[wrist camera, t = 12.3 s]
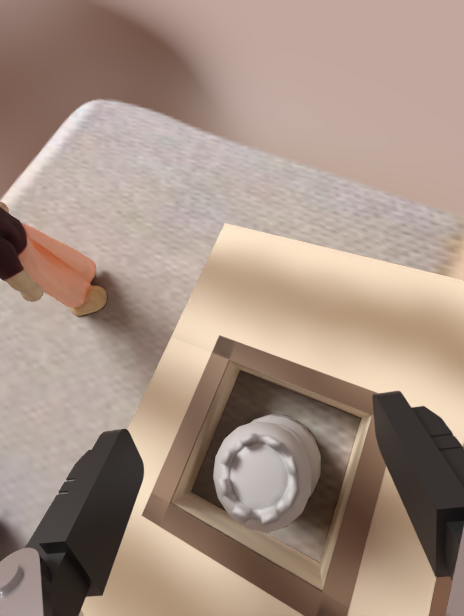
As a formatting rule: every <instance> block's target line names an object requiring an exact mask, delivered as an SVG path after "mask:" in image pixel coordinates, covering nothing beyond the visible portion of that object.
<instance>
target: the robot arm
mask: <svg viewBox="0 0 464 616" xmlns="http://www.w3.org/2000/svg"><path fill="white" fill-rule="evenodd" d="M372 399H373V412H374V424H375V434H376V439H377V443H378V447H379V450H380V452H381V455H382V457H383V459H384V462H385V464H386V466H387V468H388V471H389V473H390V475H391V478H392V480H393V482H394V484H395V487H396V489H397V491H398V493H399V496H400V498H401V500H402V502H403V505H404V507H405V509H406V511H407V514H408V516H409V518H410V520H411V523H412V525H413V527H414V530H415V532H416V534H417V536H418V539H419V541H420V543H421V545H422V548H423V550H424V552H425V554H426V557H427V559H428V561H429V563H430V566H431V568H432V570H433V572H434V575H435V577H445V576H450V577H451V579H452V586H451V591H450V595H449V600H448V605H447V610H446V614H445V616H464V449H463V447H462V445H461V444H460V442H459V441H458V440H457V438H456V437H455V436H453V433H452V432H451V430H450V429H449V427H448V426H447V425H446V423H445V422H444V421H443V419H442V418H441V417H439V416H438V415H437V414H435V413H434V412H432V411H431V410H429V409H428V408H426V407H425V406H419V407H412V408H411V406H410V405H409V403H408V402H407V400H406V399H405V397H404V395H403V394H402V393H401V392H400V391H392V392H385V393H378V394H373V397H372ZM143 478H144V464H143V460H142V458H141V456H140V454H139V452H138V450H137V447H136V445H135V443H134V441H133V439H132V437H131V435H130V433H129V431H128V430H127V429H121V430H114V431H107V432H103V433H102V434H101V435H100V436H99V438H98V440H97V442H96V443H95V445H94V447H93V449H92V450H88V451H87V452H86V453H85V454H84V456H83V457H82V458H81V459H80V460H79V461H78V462H77V463H76V464H75V465H74V467H73V469H72V470H71V472H70V474H69V475H68V477H67V479H66V480H67V481H66V482H64V484H63V485H62V487H61V489H60V490H59V495H57V496H56V497H55V499H54V501H53V502H52V504H51V506H50V507H49V509H48V511H47V512H46V514H45V516H44V517H43V519H42V521H41V522H40V524H39V526H38V527H37V529H36V531H35V532H34V534H33V536H32V537H31V539H30V541H29V542H28V544H27V546H26V547H25V548H23V549H20V550H18V551H15V552H13V553H12V554H10V555H9V556H7V557H6V558H4V559H3V560H2V561H1V562H0V616H84V614H83V612H82V610H81V608H82V606H83V603H84V600H85V598H86V597H91V596H103V593H104V590H105V587H106V584H107V581H108V579H109V576H110V573H111V570H112V567H113V564H114V561H115V559H116V556H117V553H118V550H119V547H120V544H121V542H122V539H123V536H124V533H125V530H126V527H127V524H128V522H129V519H130V516H131V513H132V510H133V507H134V504H135V502H136V499H137V496H138V493H139V490H140V487H141V485H142V482H143Z"/></svg>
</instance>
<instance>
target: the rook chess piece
mask: <svg viewBox="0 0 464 616" xmlns="http://www.w3.org/2000/svg"><path fill="white" fill-rule="evenodd" d="M320 475H321V455H320V452H319V449H318V447H317V444H316V441H315V438H314V437H313V436H312V435H311V433H310V432H309V431H308V430H307V429H306V427H305V426H304V425H303V424H302V423H300V422H298V421H296V420H294V419H292V418H291V417H289V416H286V415H276V414H269V415H266V416H263V417H260V418H257V419H254V420H253V421H252V422H251V423H249V424H246V425H242V426H239V427H237V428H236V429H235V430H234V431H233V432H232V433H231V434H230V435H228V436H227V437H226V438H225V439H224V441H223V443H222V445H221V447H220V449H219V451H218V453H217V455H216V457H215V465H214V474H213V479H214V483H215V487H216V492H217V496H218V499H219V501H220V502H221V504H222V505H223V507H224V508H225V510H226V511H227V513H228V514H229V516H230V517H231V518H233V519H234V520H236V521H237V522H238V523H240V524H241V525H243V526H244V527H246V528H247V529H251V530H257V531H262V532H271V531H274V530H278V529H281V528H284V527H287V526H288V525H290V524H291V523H292V522H293V521H294V520H295V519H296V518H297V517H298V516H299V515H300V514H301V513H302V512H303V510H304V508H305V505H306V503H307V501H308V498H309V497H310V496H311V495H312V494H313V492H314V490H315V487H316V485H317V482H318V480H319V478H320Z"/></svg>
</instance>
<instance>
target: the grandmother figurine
mask: <svg viewBox="0 0 464 616" xmlns="http://www.w3.org/2000/svg"><path fill="white" fill-rule="evenodd" d="M8 212H9V210H8V207H7V206H6V205H5V204H4V203H2V202H0V278H1V279H2V280H4V281H6V282H7V283H8V284H9V285H10V286H11V287H12V288H14V289H15V290H17V291H20V293H21V295H22V297H23V298H24V299H26V300H27V301H31V302H33V301H37V300H39V299H40V298H41V297H42V296H43V291H44V292H45V293H47V294H49V295H50V296H52V297H54V298H55V299H56V300H58V301H60V302H61V303H63V304H65V305H66V306H68V307H70V309H71V311H72V312H73V314H74V315H76V316H81V315H85V314H89V313H93V312H96V311H98V310H100V309H101V308H102V307H104V305H105V303H106V300H107V295H106V291H105V290H104V289H103V288H102V287H100V286H91V284H90V282H91V281H92V279H93V278H94V276H95V274H96V265H95V263H94V262H93V261H92V260H91V259H90V258H88V257H86V256H85V255H83V254H82V253H80V252H78V251H77V250H75V249H73V248H71V247H70V246H68V245H66V244H64V243H62V242H59V241H57V240H55V239H53V238H51V237H49V236H48V235H46V234H44V233H42V232H40V231H38V230H36V229H34V228H33V227H31V226H28V225H26V224H23V223H21V222H20V221H19V220H18V219H16V218H14V217H13V216H11V215H10V214H9V213H8Z"/></svg>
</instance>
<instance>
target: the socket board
mask: <svg viewBox="0 0 464 616" xmlns="http://www.w3.org/2000/svg"><path fill="white" fill-rule="evenodd" d="M240 370H242V371H244V372H247V373H249V374H252V375H254V376H257V377H259V378H262V379H264V380H267V381H269V382H272V383H275V384H277V385H280V386H282V387H285V388H287V389H290V390H292V391H295V392H297V393H300V394H302V395H305V396H308V397H310V398H313V399H315V400H318V401H320V402H323V403H325V404H328V405H330V406H333V407H335V408H338V409H340V410H343V411H346V412H348V413H351V414H353V415H356V416H358V417H361V421H360V425H359V428H358V432H357V435H356V439H355V442H354V446H353V449H352V453H351V456H350V460H349V463H348V466H347V470H346V473H345V477H344V480H343V484H342V487H341V491H340V494H339V498H338V501H337V505H336V508H335V511H334V515H333V518H332V522H331V525H330V529H329V532H328V536H327V539H326V543H325V546H324V550H323V553H322V556H321V560H320V563H318V562H316V561H314V560H313V559H311V558H309V557H307V556H305V555H304V554H302V553H300V552H298V551H296V550H295V549H293V548H291V547H289V546H287V545H286V544H284V543H282V542H280V541H278V540H277V539H275V538H273V537H271V536H269V535H268V534H266V533H264V532H262V531H257V530H251V529H247V528H246V527H244V526H243V525H241V524H240V523H238V522H237V521H236V520H234V519H233V518H231V517H230V516H229V514H228V513H227V512H226V511H224V510H223V509H221V508H219V507H217V506H215V505H214V504H212V503H210V502H208V501H206V500H204V499H203V498H201V497H199V496H197V495H195V494H194V493H192V492H191V491H192V488H193V486H194V483H195V481H196V478H197V476H198V473H199V471H200V468H201V466H202V463H203V461H204V458H205V456H206V453H207V451H208V448H209V446H210V443H211V441H212V438H213V436H214V434H215V431H216V429H217V426H218V424H219V421H220V419H221V416H222V414H223V411H224V409H225V406H226V404H227V401H228V399H229V396H230V394H231V391H232V389H233V386H234V384H235V381H236V379H237V376H238V374H239V371H240ZM392 391H400V392H401V393H402V394H403V395H404V397H405V399H406V400H407V402H408V403H409V405H410V406H411V408H412V407H419V406H425V407H426V408H428V409H429V410H431V411H432V412H434V413H435V414H437V415H438V416H439V417H441V418H442V419H443V421H444V422H445V423H446V425H447V426H448V427H449V429H450V430H451V432H452V433H453V436H455V437H456V438H457V440H458V441H459V442H460V444H461V445H462V447H463V444H464V280H459V279H455V278H451V277H447V276H443V275H439V274H434V273H430V272H426V271H422V270H418V269H414V268H409V267H405V266H401V265H397V264H393V263H389V262H385V261H380V260H376V259H372V258H368V257H364V256H360V255H355V254H351V253H347V252H343V251H339V250H335V249H330V248H326V247H322V246H318V245H314V244H310V243H305V242H301V241H297V240H293V239H289V238H285V237H280V236H276V235H272V234H268V233H264V232H260V231H255V230H251V229H247V228H243V227H239V226H235V225H230V224H226V223H225V224H224V226H223V228H222V230H221V233H220V235H219V237H218V239H217V241H216V243H215V245H214V247H213V250H212V252H211V254H210V256H209V258H208V260H207V262H206V264H205V266H204V269H203V271H202V273H201V275H200V277H199V279H198V281H197V283H196V286H195V288H194V290H193V292H192V294H191V296H190V298H189V300H188V302H187V305H186V307H185V309H184V311H183V313H182V315H181V317H180V319H179V322H178V324H177V326H176V328H175V330H174V332H173V334H172V336H171V338H170V341H169V343H168V345H167V347H166V349H165V351H164V353H163V355H162V358H161V360H160V362H159V364H158V366H157V368H156V370H155V372H154V374H153V377H152V379H151V381H150V383H149V385H148V387H147V389H146V391H145V394H144V396H143V398H142V400H141V402H140V404H139V406H138V408H137V410H136V413H135V415H134V417H133V419H132V421H131V423H130V425H129V427H128V431H129V433H130V435H131V437H132V439H133V441H134V443H135V445H136V447H137V450H138V452H139V454H140V456H141V458H142V460H143V464H144V478H143V482H142V485H141V487H140V490H139V493H138V496H137V499H136V502H135V504H134V507H133V510H132V513H131V516H130V519H129V522H128V524H127V527H126V530H125V533H124V536H123V539H122V542H121V544H120V547H119V550H118V553H117V556H116V559H115V561H114V564H113V567H112V570H111V573H110V576H109V579H108V581H107V584H106V587H105V590H104V593H103V596H91V597H86V598H85V600H84V603H83V606H82V608H81V610H82V612H83V614H84V616H429V611H430V606H431V601H432V596H433V591H434V586H435V582H436V577H435V575H434V572H433V570H432V568H431V566H430V563H429V561H428V559H427V557H426V554H425V552H424V550H423V548H422V545H421V543H420V541H419V539H418V536H417V534H416V532H415V530H414V527H413V525H412V523H411V520H410V518H409V516H408V514H407V511H406V509H405V507H404V505H403V502H402V500H401V498H400V496H399V493H398V491H397V489H396V487H395V484H394V482H393V480H392V478H391V475H390V473H389V471H388V468H387V466H386V464H385V462H384V459H383V457H382V455H381V452H380V450H379V447H378V443H377V439H376V434H375V424H374V412H373V399H372V397H373V394H378V393H385V392H392Z"/></svg>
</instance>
